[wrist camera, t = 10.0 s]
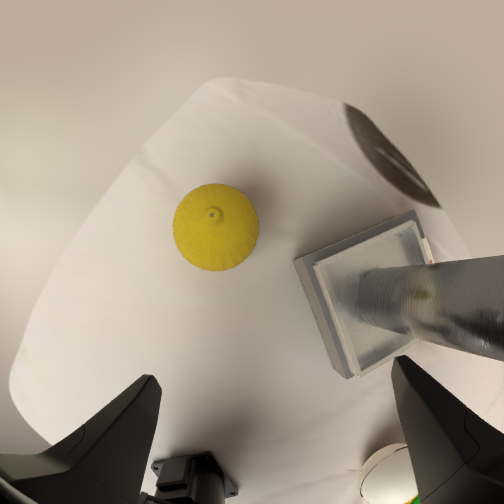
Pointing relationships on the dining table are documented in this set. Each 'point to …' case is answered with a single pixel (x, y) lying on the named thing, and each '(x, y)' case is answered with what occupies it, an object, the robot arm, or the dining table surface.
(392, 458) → the white egg
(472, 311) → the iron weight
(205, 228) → the lemon
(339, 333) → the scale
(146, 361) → the dining table surface
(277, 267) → the dining table surface
